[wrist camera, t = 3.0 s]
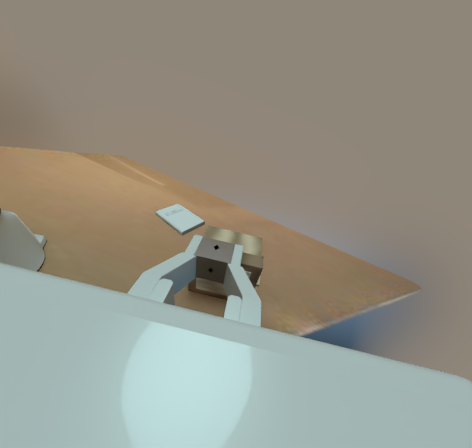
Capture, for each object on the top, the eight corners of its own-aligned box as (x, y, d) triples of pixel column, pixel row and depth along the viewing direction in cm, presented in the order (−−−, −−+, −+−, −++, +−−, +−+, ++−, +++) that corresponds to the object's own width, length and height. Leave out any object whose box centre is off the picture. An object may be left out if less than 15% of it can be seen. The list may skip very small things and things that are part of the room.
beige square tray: (187, 268, 37) (187, 267, 37) (208, 226, 50) (208, 225, 50) (259, 286, 37) (259, 284, 37) (261, 239, 50) (261, 238, 50)
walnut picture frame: (188, 290, 33) (188, 251, 27) (192, 279, 35) (194, 240, 29) (247, 305, 33) (262, 269, 27) (249, 293, 35) (263, 257, 29)
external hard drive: (182, 236, 46) (155, 215, 51) (204, 225, 52) (179, 207, 57) (181, 232, 45) (155, 211, 50) (205, 220, 51) (178, 203, 56)
